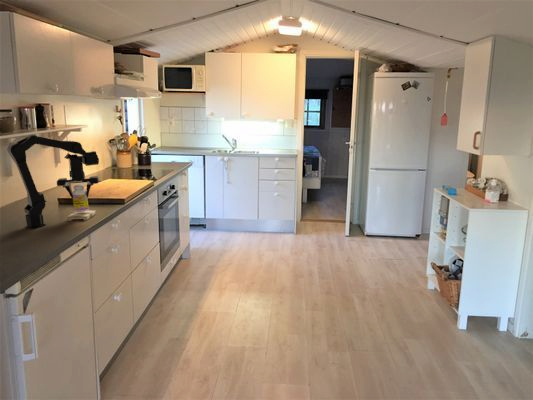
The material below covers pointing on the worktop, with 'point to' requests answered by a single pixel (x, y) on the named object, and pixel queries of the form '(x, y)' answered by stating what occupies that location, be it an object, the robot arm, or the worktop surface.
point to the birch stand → (82, 215)
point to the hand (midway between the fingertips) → (80, 198)
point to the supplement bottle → (80, 199)
